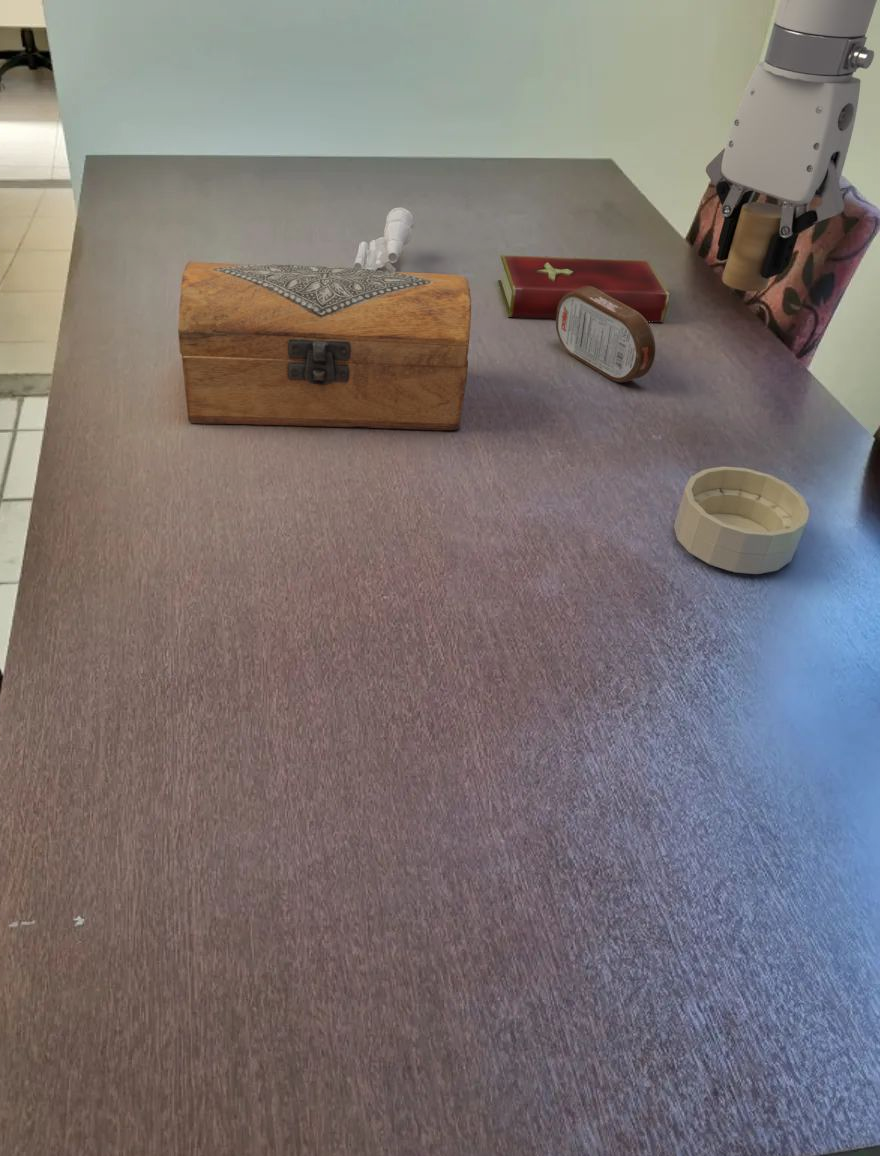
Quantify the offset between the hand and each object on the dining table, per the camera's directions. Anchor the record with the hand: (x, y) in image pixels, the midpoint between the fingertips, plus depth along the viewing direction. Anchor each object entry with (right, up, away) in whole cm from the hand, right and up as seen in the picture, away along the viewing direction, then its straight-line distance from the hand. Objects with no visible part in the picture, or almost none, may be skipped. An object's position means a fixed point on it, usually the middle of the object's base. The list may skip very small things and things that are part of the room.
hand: (749, 264), depth 95 cm
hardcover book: (-10, +9, +39) cm, 41 cm away
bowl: (-2, -28, -2) cm, 28 cm away
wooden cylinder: (0, -1, +1) cm, 2 cm away
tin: (-10, -3, +25) cm, 27 cm away
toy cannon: (-37, +16, +44) cm, 59 cm away
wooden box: (-43, -10, +15) cm, 46 cm away
